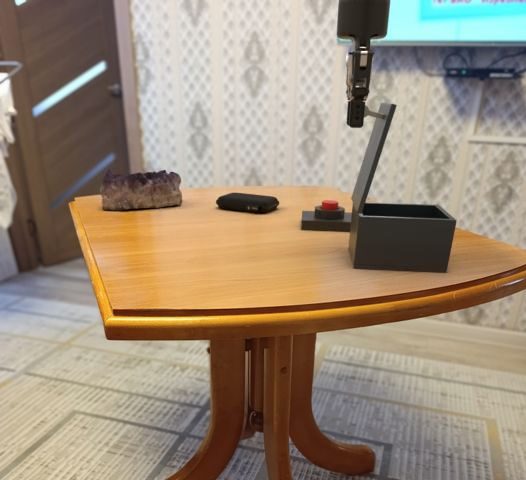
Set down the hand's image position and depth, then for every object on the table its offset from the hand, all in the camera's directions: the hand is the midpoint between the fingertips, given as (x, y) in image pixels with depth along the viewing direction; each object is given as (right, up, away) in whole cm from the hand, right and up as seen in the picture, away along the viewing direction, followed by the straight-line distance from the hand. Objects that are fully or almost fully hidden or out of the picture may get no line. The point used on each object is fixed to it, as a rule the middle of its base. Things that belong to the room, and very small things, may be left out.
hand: (354, 126), depth 82 cm
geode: (-45, 0, +46) cm, 65 cm away
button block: (0, -9, +31) cm, 32 cm away
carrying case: (-19, -1, +46) cm, 50 cm away
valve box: (+9, -20, +9) cm, 24 cm away
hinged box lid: (+4, -4, +2) cm, 6 cm away
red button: (0, -5, +30) cm, 30 cm away
